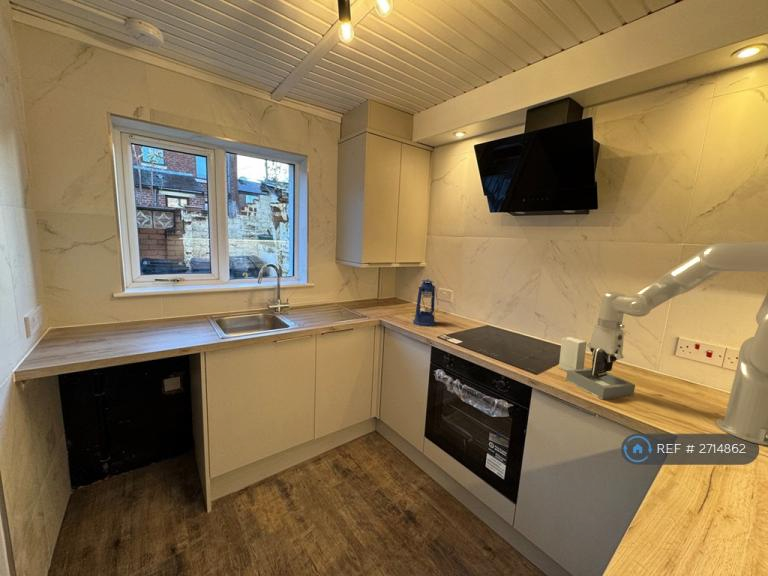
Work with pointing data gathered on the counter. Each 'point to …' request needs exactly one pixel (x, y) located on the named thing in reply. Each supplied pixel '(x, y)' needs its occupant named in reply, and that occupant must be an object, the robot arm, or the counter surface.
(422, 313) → the lantern
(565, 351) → the skincare box
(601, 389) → the bin
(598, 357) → the dark piece
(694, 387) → the counter surface
